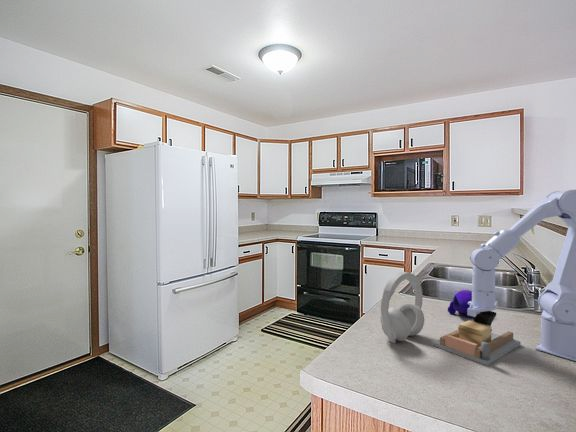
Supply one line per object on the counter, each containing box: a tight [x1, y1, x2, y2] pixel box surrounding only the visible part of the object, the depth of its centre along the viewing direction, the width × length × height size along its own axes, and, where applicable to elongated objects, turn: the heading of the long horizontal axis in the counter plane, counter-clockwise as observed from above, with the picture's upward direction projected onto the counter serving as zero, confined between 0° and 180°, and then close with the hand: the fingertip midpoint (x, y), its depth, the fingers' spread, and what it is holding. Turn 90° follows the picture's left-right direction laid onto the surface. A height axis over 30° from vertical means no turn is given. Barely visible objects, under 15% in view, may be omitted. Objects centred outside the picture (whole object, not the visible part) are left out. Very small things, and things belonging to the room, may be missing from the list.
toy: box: [447, 289, 473, 319], centre depth 117 cm, size 9×10×15 cm
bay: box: [433, 329, 521, 367], centre depth 91 cm, size 14×21×5 cm, turn 125°
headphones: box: [379, 271, 425, 344], centre depth 96 cm, size 19×8×20 cm, turn 127°
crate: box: [457, 319, 493, 348], centre depth 90 cm, size 6×6×5 cm
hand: (482, 335), depth 93 cm, fingers closed
